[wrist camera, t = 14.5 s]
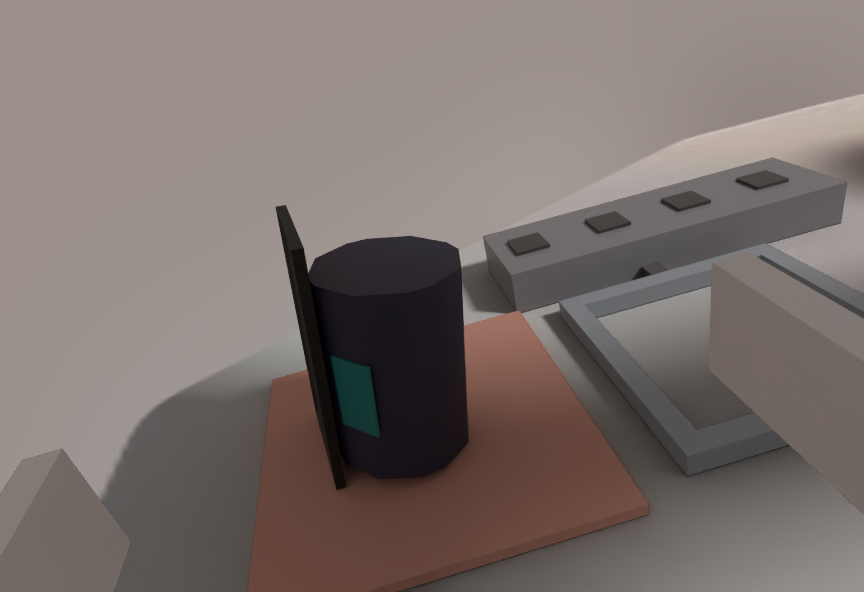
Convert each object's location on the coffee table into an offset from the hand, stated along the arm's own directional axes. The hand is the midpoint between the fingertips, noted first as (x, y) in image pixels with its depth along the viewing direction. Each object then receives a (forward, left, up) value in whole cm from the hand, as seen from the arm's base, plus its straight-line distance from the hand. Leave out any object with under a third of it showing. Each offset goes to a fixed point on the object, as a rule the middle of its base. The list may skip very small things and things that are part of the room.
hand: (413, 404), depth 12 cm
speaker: (+1, -10, -10) cm, 14 cm away
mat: (0, -10, -10) cm, 14 cm away
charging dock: (-17, -14, -10) cm, 24 cm away
